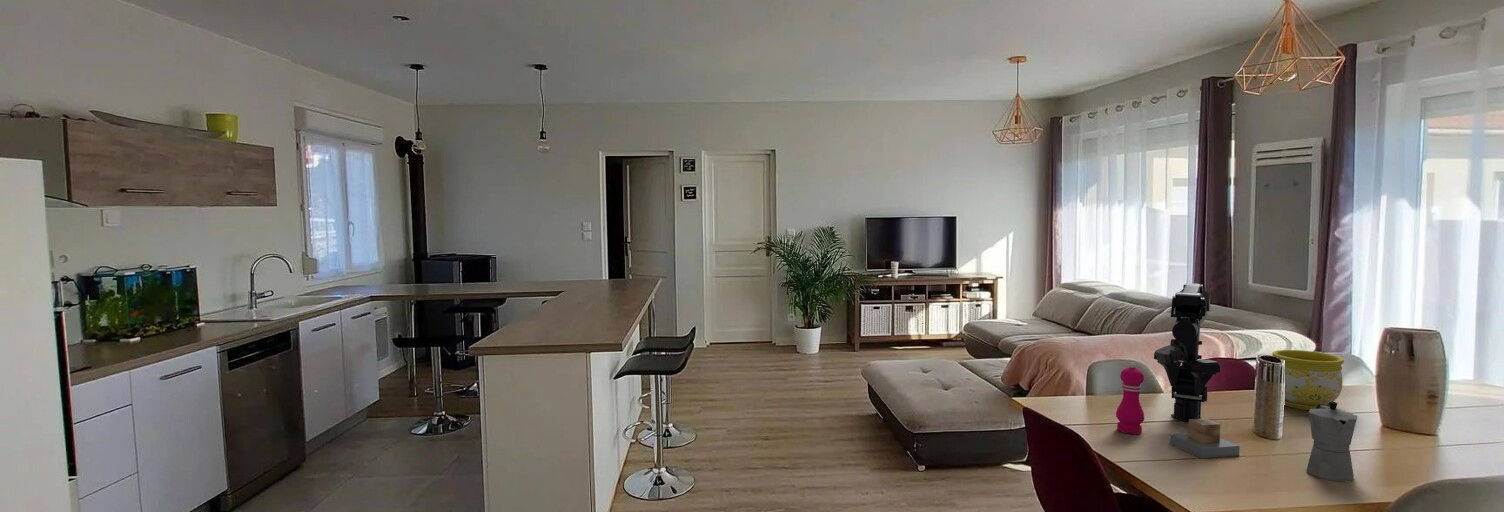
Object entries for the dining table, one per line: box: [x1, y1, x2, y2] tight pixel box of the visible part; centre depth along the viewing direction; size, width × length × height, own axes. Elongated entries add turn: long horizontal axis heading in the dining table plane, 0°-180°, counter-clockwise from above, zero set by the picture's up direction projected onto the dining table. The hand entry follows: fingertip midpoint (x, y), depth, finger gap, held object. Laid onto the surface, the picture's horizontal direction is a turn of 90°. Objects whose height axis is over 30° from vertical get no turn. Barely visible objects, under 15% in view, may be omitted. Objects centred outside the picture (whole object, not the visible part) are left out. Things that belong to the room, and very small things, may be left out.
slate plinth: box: [1169, 433, 1241, 459], centre depth 186 cm, size 11×11×2 cm
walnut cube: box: [1187, 417, 1221, 444], centre depth 186 cm, size 5×5×5 cm
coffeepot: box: [1305, 401, 1358, 483], centre depth 168 cm, size 15×9×18 cm, turn 159°
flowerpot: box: [1271, 349, 1345, 411], centre depth 224 cm, size 18×18×16 cm
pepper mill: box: [1115, 362, 1145, 435], centre depth 201 cm, size 7×7×20 cm
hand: (1184, 390), depth 200 cm, fingers open, 9 cm apart
